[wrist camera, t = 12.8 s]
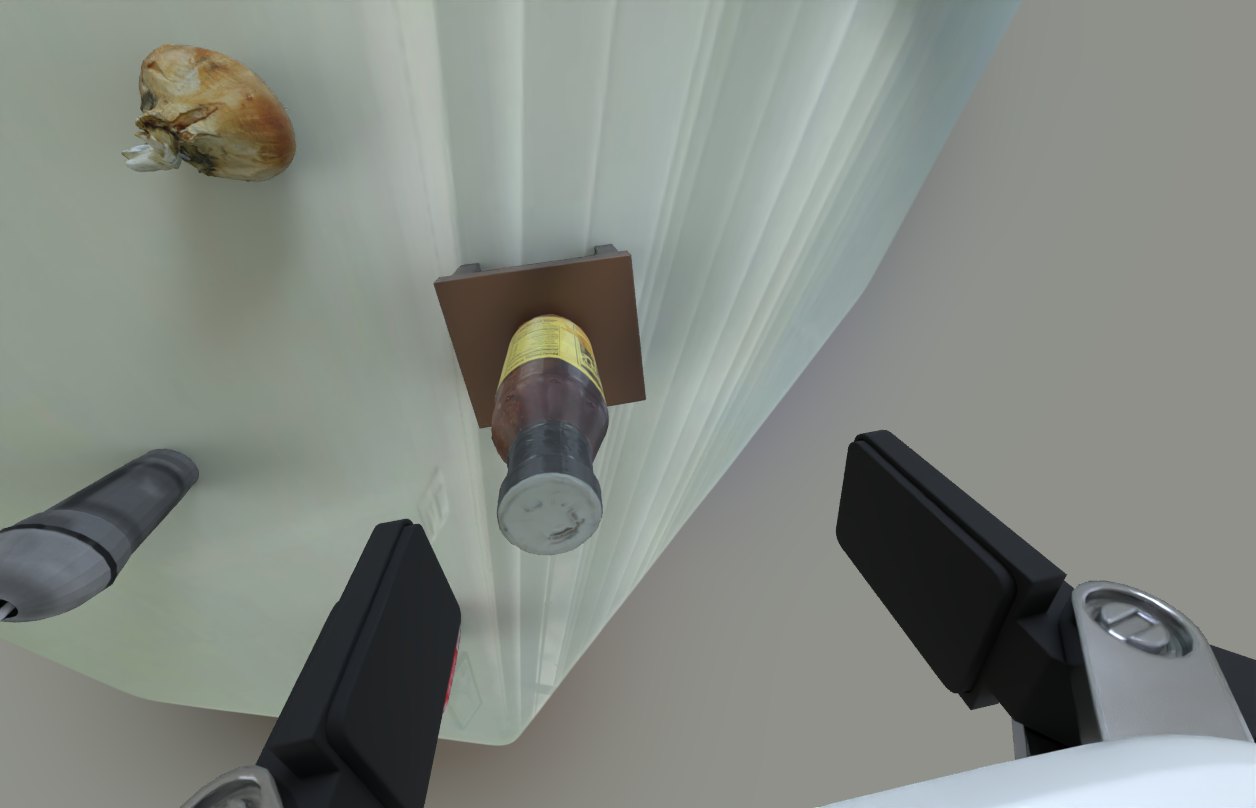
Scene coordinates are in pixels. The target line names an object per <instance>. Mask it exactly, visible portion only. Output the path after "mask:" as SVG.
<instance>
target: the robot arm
mask: <svg viewBox="0 0 1256 808" xmlns="http://www.w3.org/2000/svg"><path fill="white" fill-rule="evenodd" d="M836 536H837V539H838V542H839V544H840V546H841V547H842V549H843V550H844V551H845V552H846V554H847V555H848V557H849V558H850V559H851V561H852V562H853V563H854V565H855V566H856V567H857V569H858V570H859V572H860V573H861V574H862V576H863V577H864V578H865V580H866V581H867V582H868V584H869V585H870V586H871V588H872V589H873V590H874V592H875V593H876V594H877V596H878V597H879V598H880V600H881V601H882V602H883V604H884V605H885V606H886V608H887V609H888V610H889V612H890V613H891V615H892V616H893V617H894V619H895V620H896V621H897V623H898V624H899V625H900V627H901V628H902V629H903V631H904V632H905V633H906V635H907V636H908V637H909V639H910V640H911V641H912V643H913V644H914V646H915V647H916V648H917V649H918V651H919V652H920V654H921V655H922V656H923V658H924V659H925V660H926V662H927V663H928V664H929V666H930V667H931V668H932V670H933V671H934V672H935V674H936V675H937V676H938V678H939V679H940V680H941V682H942V683H943V684H944V685H945V687H946V688H947V689H949V690H950V691H951V692H953V693H958V694H959V695H960V697H961V698H962V699H963V700H964V702H965V703H966V704H967V706H968V707H969V708H970V710H973V709H977V708H981V707H986V706H990V705H995V704H998V703H1000V704H1001V705H1002V706H1003V707H1004V709H1005V710H1006V711H1007V712H1008V714H1009V715H1010V716H1011V717H1012V729H1013V741H1014V752H1015V760H1012V761H1008V762H1003V763H999V764H994V765H990V766H986V767H981V768H977V769H973V770H969V771H965V772H961V773H957V774H952V775H948V776H944V777H940V778H936V779H932V780H928V781H923V782H919V783H915V784H911V785H907V786H902V787H898V788H894V789H890V790H886V791H882V792H878V793H873V794H870V795H865V796H861V797H857V798H852V799H849V800H844V801H840V802H836V803H832V804H828V805H824V806H820V807H816V808H1256V660H1254V659H1251V658H1248V657H1245V656H1242V655H1239V654H1236V653H1233V652H1230V651H1227V650H1224V649H1221V648H1218V647H1215V646H1212V645H1209V643H1208V641H1207V639H1206V638H1205V636H1204V635H1203V633H1202V632H1201V631H1200V629H1199V628H1198V627H1197V626H1196V625H1195V624H1194V623H1193V622H1192V621H1191V620H1190V619H1189V618H1187V617H1186V616H1185V615H1184V614H1183V613H1181V612H1180V611H1179V610H1177V609H1176V608H1174V607H1173V606H1171V605H1170V604H1168V603H1166V602H1165V601H1163V600H1161V599H1159V598H1157V597H1155V596H1153V595H1151V594H1149V593H1147V592H1145V591H1142V590H1139V589H1137V588H1134V587H1130V586H1128V585H1125V584H1120V583H1115V582H1110V581H1088V582H1085V583H1082V584H1079V585H1078V586H1077V587H1076V588H1075V589H1073V587H1071V586H1070V585H1069V584H1068V583H1066V582H1065V581H1064V579H1065V577H1066V575H1067V574H1065V573H1064V572H1063V571H1062V570H1060V569H1059V568H1058V567H1057V566H1055V565H1054V564H1053V563H1052V562H1050V561H1049V560H1048V559H1046V557H1044V556H1043V555H1042V554H1041V553H1039V552H1038V551H1037V550H1036V549H1034V548H1033V547H1032V546H1030V545H1029V544H1028V543H1027V542H1026V541H1025V540H1023V539H1022V538H1021V537H1019V536H1018V535H1017V534H1016V533H1015V532H1013V531H1012V530H1011V529H1010V528H1008V527H1007V526H1006V525H1005V524H1003V523H1002V522H1001V521H1000V520H999V519H997V518H996V517H995V516H994V515H992V514H991V513H990V512H989V511H987V510H986V509H985V508H984V507H982V506H981V505H980V504H979V503H977V502H976V501H975V500H974V499H972V498H971V497H970V496H969V495H967V494H966V493H965V492H964V491H963V490H961V489H960V488H959V487H958V486H956V485H955V484H954V483H952V481H950V480H949V479H948V478H947V477H945V476H944V475H943V474H942V473H940V472H939V471H938V470H936V469H935V468H934V467H933V466H932V465H930V464H929V463H928V462H927V461H925V460H924V459H923V458H922V457H921V456H919V455H918V454H917V453H916V452H914V451H913V450H912V449H911V448H909V447H908V446H907V445H906V444H904V443H903V442H902V441H901V440H899V439H898V438H897V437H896V436H894V435H893V434H892V433H891V432H889V431H887V430H879V431H874V432H869V433H863V434H859V435H857V436H856V438H855V440H854V442H852V443H850V445H849V447H848V453H847V460H846V466H845V473H844V480H843V486H842V493H841V499H840V506H839V512H838V519H837V526H836ZM460 623H461V613H460V608H459V605H458V603H457V601H456V598H455V596H454V594H453V592H452V590H451V588H450V585H449V583H448V581H447V579H446V577H445V575H444V573H443V570H442V568H441V566H440V564H439V562H438V560H437V558H436V555H435V553H434V551H433V549H432V547H431V545H430V543H429V540H428V538H427V536H426V534H425V532H424V530H423V528H422V526H421V525H420V524H413V523H412V521H411V520H409V519H402V520H397V521H391V522H386V523H381V524H378V525H377V526H376V527H375V528H374V530H373V532H372V534H371V536H370V538H369V540H368V542H367V544H366V546H365V548H364V551H363V553H362V555H361V557H360V559H359V561H358V563H357V565H356V567H355V569H354V571H353V573H352V575H351V577H350V579H349V581H348V584H347V586H346V588H345V590H344V592H343V594H342V596H341V598H340V600H339V601H338V602H337V603H336V604H335V606H334V607H333V609H332V610H331V612H330V614H329V616H328V618H327V620H326V622H325V624H324V626H323V629H322V631H321V633H320V635H319V637H318V639H317V641H316V643H315V645H314V647H313V649H312V651H311V653H310V655H309V657H308V659H307V661H306V663H305V665H304V667H303V669H302V671H301V673H300V675H299V677H298V679H297V681H296V683H295V685H294V687H293V689H292V692H291V694H290V696H289V698H288V700H287V702H286V704H285V706H284V708H283V710H282V712H281V714H280V716H279V718H278V720H277V722H276V724H275V726H274V728H273V731H272V732H271V734H270V736H269V738H268V740H267V743H266V744H265V747H264V748H263V750H262V753H261V755H260V757H259V759H258V761H257V763H256V765H252V766H244V767H239V768H236V769H234V770H232V771H229V772H227V773H224V774H222V775H220V776H219V777H217V778H216V779H214V780H213V781H211V782H210V783H208V784H207V785H205V786H204V787H202V788H201V789H200V790H199V791H197V792H196V793H195V794H194V795H193V796H192V797H191V798H190V799H188V800H187V801H186V802H185V803H184V804H183V805H182V806H181V807H180V808H423V807H424V804H425V799H426V794H427V789H428V784H429V779H430V774H431V769H432V764H433V759H434V754H435V749H436V744H437V739H438V734H439V729H440V724H441V719H442V714H443V709H444V704H445V699H446V694H447V689H448V684H449V679H450V674H451V669H452V664H453V659H454V654H455V649H456V644H457V639H458V634H459V629H460Z"/></svg>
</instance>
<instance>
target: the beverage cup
mask: <svg viewBox="0 0 1256 808" xmlns="http://www.w3.org/2000/svg"><path fill="white" fill-rule="evenodd" d="M197 479H198V470H197V467H196V465H195V464H194V463H193V462H192V461H191V460H190V459H189V458H187V457H186V456H184V455H182V454H180V453H178V452H175V451H170V450H154V451H150V452H148V453H147V454H145V455H143V456H141V457H139V458H137V459H134V460H132V461H131V462H129V463H127V464H125V465H124V466H122V467H120V468H119V469H117V470H115V471H113V472H112V473H110V474H108V475H106V476H105V477H103V478H101V479H100V480H98V481H96V482H94V483H93V484H91V485H89V486H87V487H86V488H84V489H82V490H81V491H79V492H77V493H75V494H74V495H72V496H70V497H68V498H67V499H65V500H63V501H62V502H60V503H58V504H56V505H55V506H53V507H51V508H49V509H48V510H46V511H44V512H42V513H38V514H35V515H33V516H31V517H29V518H27V519H25V520H22V521H20V522H18V523H17V524H15V525H13V526H11V527H8V528H4V529H2V530H1V531H0V621H4V622H29V621H37V620H41V619H46V618H49V617H53V616H56V615H60V614H62V613H65V612H68V611H70V610H72V609H74V608H76V607H78V606H80V605H82V604H83V603H85V602H86V601H88V600H89V599H91V598H92V597H94V596H95V595H97V594H98V593H100V592H101V591H103V590H104V589H106V588H107V587H109V586H110V585H112V584H113V582H114V580H115V579H116V577H117V575H118V574H119V573H120V571H121V570H122V568H123V567H124V565H125V564H126V563H127V561H128V559H129V557H130V556H131V554H132V553H133V552H134V551H135V550H136V549H137V548H138V547H139V546H140V545H141V543H142V542H143V541H144V540H145V539H146V538H147V537H148V536H149V535H150V533H151V532H152V531H153V530H154V529H155V528H156V527H157V526H158V525H159V523H160V522H161V521H162V520H163V519H164V518H165V517H166V516H167V515H168V513H169V512H170V511H171V510H172V509H173V508H174V507H175V506H176V505H177V503H178V502H179V501H180V500H181V499H182V498H183V497H184V496H185V495H186V493H187V492H188V490H189V489H190V488H191V486H192V485H193V484H194V483H195V482H196V481H197Z"/></svg>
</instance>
